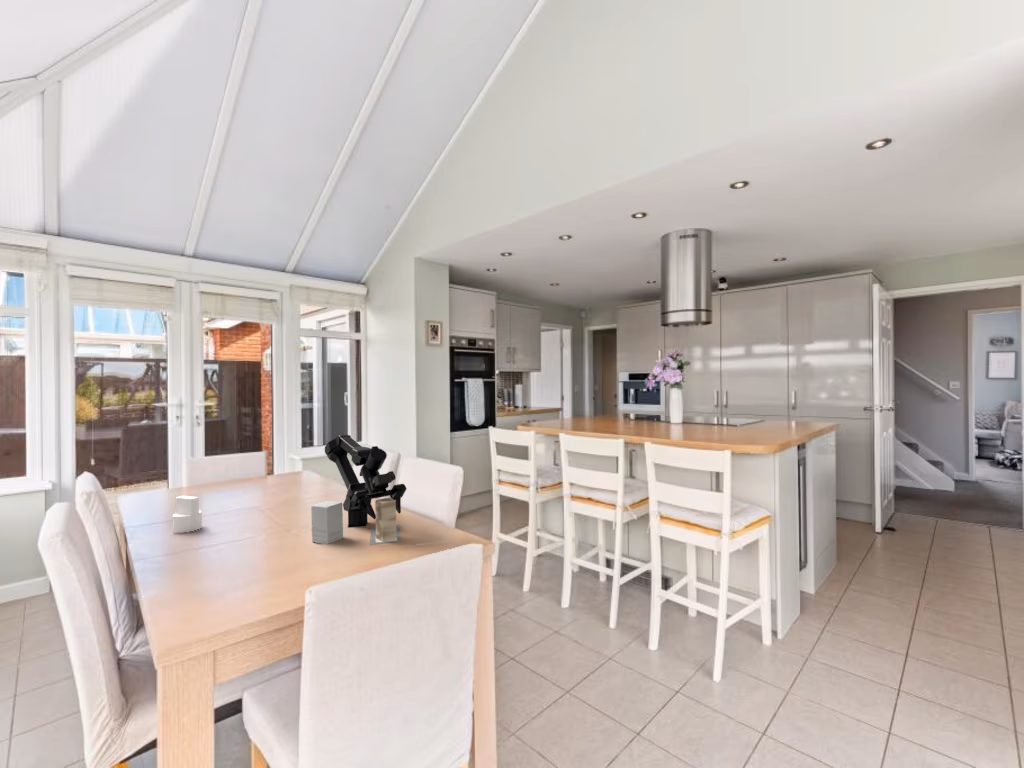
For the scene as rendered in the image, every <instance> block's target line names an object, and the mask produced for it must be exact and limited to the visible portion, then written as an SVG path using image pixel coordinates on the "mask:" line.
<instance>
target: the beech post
mask: <svg viewBox="0 0 1024 768" xmlns="http://www.w3.org/2000/svg"><path fill="white" fill-rule="evenodd" d="M374 501H375V502H374V503H375V504H374V505H375V510H374V512H375V515H376V518H375V527H376V539H378V540H380V541H382V542H384V541H388V540H391V539H395V538H396V525H397V510H396V500H394V499H392V498H391V497H385V498H381V499H376V500H374Z"/></svg>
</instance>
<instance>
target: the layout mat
mask: <svg viewBox="0 0 1024 768" xmlns="http://www.w3.org/2000/svg"><path fill="white" fill-rule="evenodd" d="M401 542H402V539H401V532H400V525H399V524H396V538H395V539H391V540H388V541H384V542H382V541H380V540H378V539H376V526H371V527H370V535H369V546H372V545H373V546H374V545H382V544H384V545H385V544H392V543H393V544H395V543H401Z"/></svg>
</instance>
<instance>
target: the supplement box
mask: <svg viewBox="0 0 1024 768" xmlns="http://www.w3.org/2000/svg"><path fill="white" fill-rule="evenodd" d="M310 507H311V509H310V510H311V542H312V543H314V542H315V544H320V545H322V544H326V545H328V544H331V543H334V542H336V541H338V540H341V539H343V538H344V526H343V525H344V523H343V522H344V520H343V517H344V516H343V515H344V514H343V502H342V501H331V500H325V501H321V502H319V503H315V504H312V505H311V506H310Z"/></svg>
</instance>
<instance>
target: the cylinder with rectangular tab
mask: <svg viewBox="0 0 1024 768" xmlns="http://www.w3.org/2000/svg"><path fill="white" fill-rule="evenodd" d="M199 499H200V498H199V496H190V495H179V496H176V497H175V513H173V514H172V532H173V531H174V532H187V533H190V532H189V531H193V532H195V531H194V530H196V531H198V530H197V529H199V530H201V529H202V528H201V527H203V521H202V520H203V519H202V518H203V515H202V514H203V513H202V511H203V510H201V509H200V505H199V504H200V503H199V502H200V501H199ZM200 528H201V529H200ZM174 532H173V533H174Z"/></svg>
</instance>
